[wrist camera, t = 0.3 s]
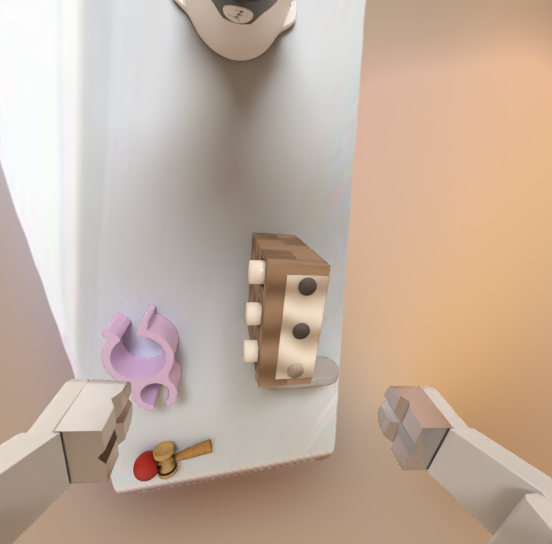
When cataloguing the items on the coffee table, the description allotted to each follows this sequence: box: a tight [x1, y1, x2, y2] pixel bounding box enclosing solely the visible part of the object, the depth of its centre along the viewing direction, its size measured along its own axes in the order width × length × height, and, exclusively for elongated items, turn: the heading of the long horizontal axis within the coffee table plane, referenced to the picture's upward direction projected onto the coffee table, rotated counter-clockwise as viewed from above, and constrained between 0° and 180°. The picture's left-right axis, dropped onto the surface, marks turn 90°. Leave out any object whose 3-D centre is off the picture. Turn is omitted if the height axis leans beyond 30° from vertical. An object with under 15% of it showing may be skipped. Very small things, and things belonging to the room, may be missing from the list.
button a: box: [248, 260, 266, 284], centre depth 41 cm, size 4×4×4 cm
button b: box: [243, 340, 259, 363], centre depth 46 cm, size 4×4×4 cm
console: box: [248, 233, 330, 387], centre depth 49 cm, size 20×8×20 cm, turn 174°
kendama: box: [133, 439, 212, 481], centre depth 67 cm, size 8×6×18 cm
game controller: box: [255, 356, 339, 390], centre depth 63 cm, size 20×2×8 cm, turn 86°
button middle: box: [245, 302, 262, 325], centre depth 44 cm, size 4×4×4 cm
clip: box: [102, 304, 181, 411], centre depth 56 cm, size 20×12×7 cm, turn 11°
